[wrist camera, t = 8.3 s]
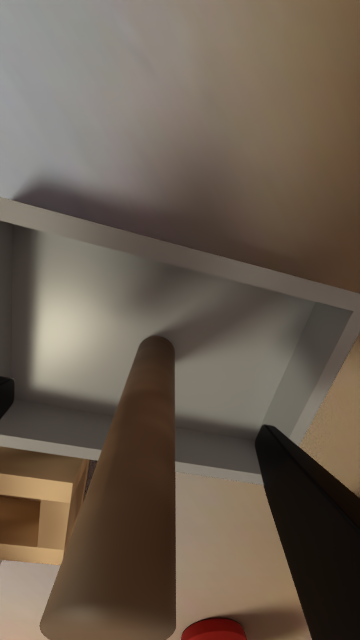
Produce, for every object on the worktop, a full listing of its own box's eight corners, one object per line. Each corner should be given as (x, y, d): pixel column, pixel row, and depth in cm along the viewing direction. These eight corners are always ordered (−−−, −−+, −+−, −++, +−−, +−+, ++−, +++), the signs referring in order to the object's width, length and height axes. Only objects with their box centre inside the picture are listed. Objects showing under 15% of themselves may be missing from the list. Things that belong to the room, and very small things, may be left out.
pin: (178, 340, 11) (191, 606, 3) (170, 371, 12) (160, 653, 4) (141, 332, 11) (40, 594, 3) (134, 364, 12) (39, 649, 3)
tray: (327, 289, 12) (378, 298, 9) (256, 443, 15) (277, 487, 12) (5, 203, 10) (-65, 179, 7) (5, 400, 13) (-42, 439, 10)
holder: (93, 438, 14) (72, 483, 11) (81, 511, 16) (62, 565, 13) (-26, 419, 13) (-80, 462, 10) (-22, 499, 16) (-66, 553, 13)
